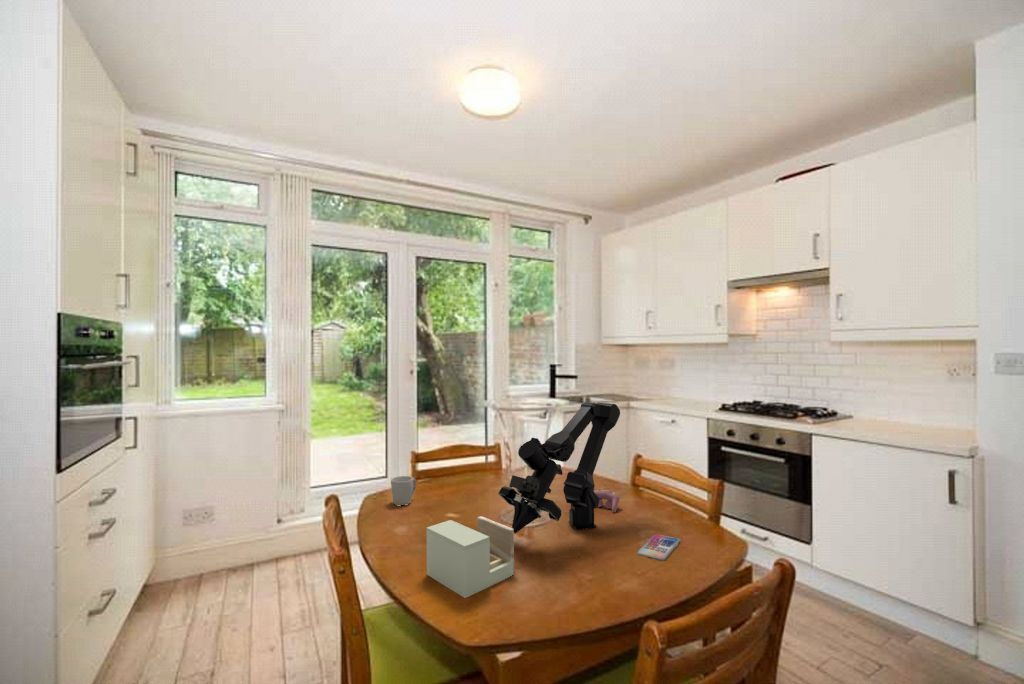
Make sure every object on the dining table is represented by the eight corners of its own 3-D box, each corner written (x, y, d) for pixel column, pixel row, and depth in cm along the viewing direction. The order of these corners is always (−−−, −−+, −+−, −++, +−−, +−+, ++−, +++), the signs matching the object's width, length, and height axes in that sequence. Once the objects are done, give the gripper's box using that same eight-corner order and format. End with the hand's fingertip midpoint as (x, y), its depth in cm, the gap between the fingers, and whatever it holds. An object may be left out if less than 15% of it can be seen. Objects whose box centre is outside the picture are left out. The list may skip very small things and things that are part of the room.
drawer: (481, 555, 119) (481, 516, 119) (513, 571, 111) (513, 528, 111) (437, 573, 110) (437, 530, 110) (469, 592, 101) (469, 546, 101)
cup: (386, 504, 159) (385, 479, 159) (408, 496, 167) (408, 473, 167) (401, 509, 154) (401, 483, 154) (423, 500, 162) (423, 476, 163)
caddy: (474, 555, 119) (473, 512, 119) (513, 575, 109) (513, 527, 109) (426, 574, 109) (426, 527, 109) (465, 598, 99) (464, 546, 99)
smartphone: (635, 552, 119) (654, 533, 131) (635, 556, 119) (654, 536, 131) (664, 559, 115) (681, 538, 127) (664, 563, 115) (681, 542, 127)
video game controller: (618, 515, 151) (621, 493, 154) (614, 512, 148) (617, 490, 151) (590, 509, 156) (593, 488, 159) (585, 507, 153) (588, 485, 156)
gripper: (502, 457, 129) (472, 507, 122) (552, 469, 116) (522, 526, 108) (523, 478, 135) (495, 528, 127) (573, 493, 121) (546, 549, 114)
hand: (513, 532), depth 119 cm, fingers closed
